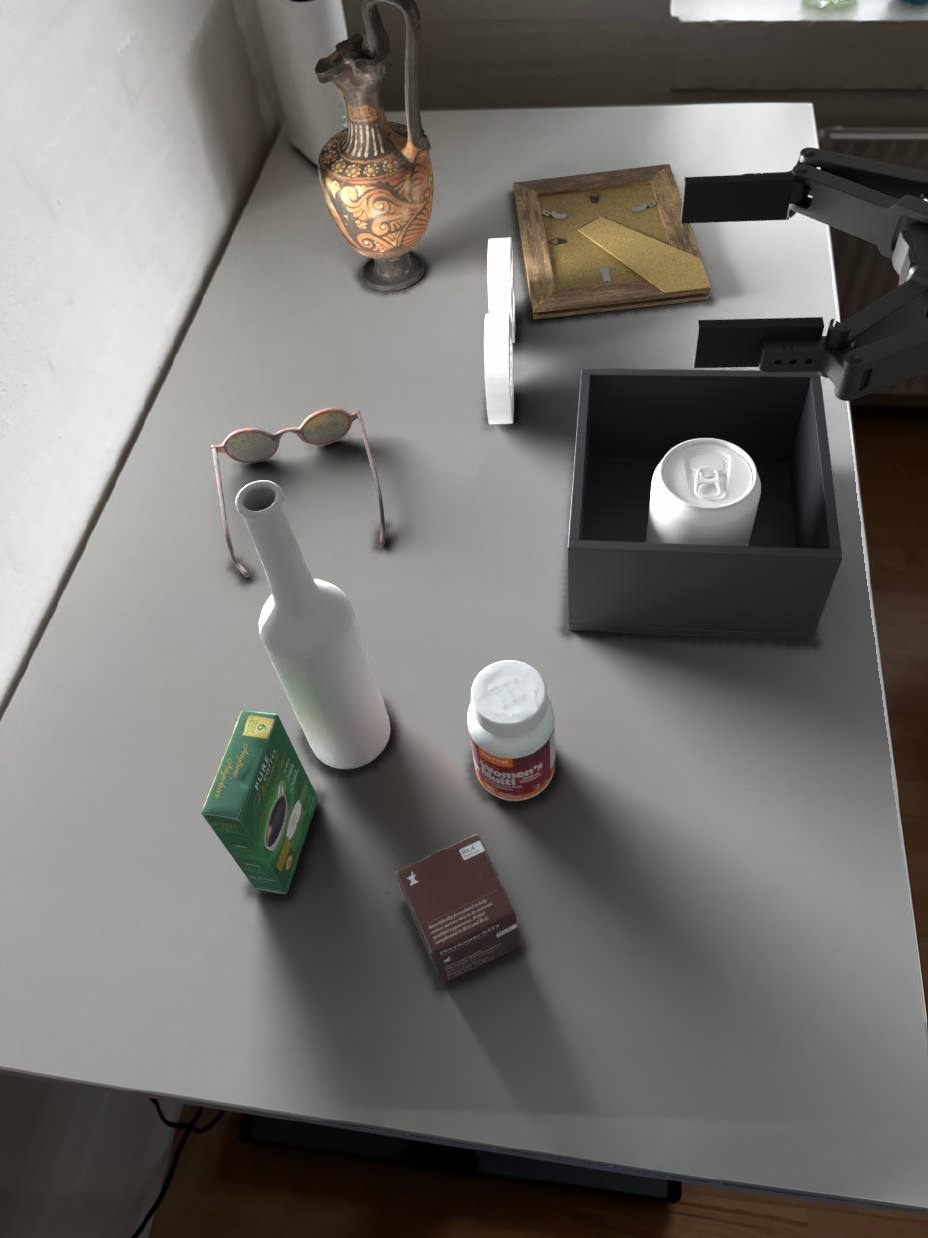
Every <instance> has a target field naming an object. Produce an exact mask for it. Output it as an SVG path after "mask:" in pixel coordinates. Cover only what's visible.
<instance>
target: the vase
mask: <svg viewBox="0 0 928 1238" xmlns="http://www.w3.org/2000/svg"><path fill="white" fill-rule="evenodd" d="M377 3H386V4H388V5H393V6H395V7H397V8H398V9H399V11H401V12H402V14H403V17H404V21H405V29H406V30H405V52H404V108H405V109H404V111H405V122H406V124H403V123H401V122H397V121H396V122H395V121H389V120H388V119H387V116H386V114H385V109H384V106H383V101H382V96H381V87H382V81H383V77H384V75H386V71H387V59H388V57H389V55H390V54H391V41H390V35H389V34H388V31H387V30H386V29H385V27H384V24H383V21H382V17H381V14H380V11H379V8H378V5H377ZM360 12H361V17H362V21H363V25H364V27H365V32H364V34H363V35H362V34H360V33H354V34H352V35H350V36H349V37H348V38H347V39H343V40H341V41H339V42H338V43H337V44H335V46H334V48H335V50H334V51H333V52H331V53H330V54H329V55H328V56H326V57H321V58H319V59H318V61H317V63H316V65H315V67H314V72H315V74H316V79H317V80H318V82H319V83H320V84H327V83H330V82H331V83H333V84H334V86H336V87H337V89H338V90H339V91H340V93H341V95H342V98H343V100H344V102H345V109H346V116H347V127H346V128H344V129H343V130H341V131H339V132H337V133H336V134H334V135H333V136H331V138H329V139H328V140H327V141H326V143H324V145H323V147H322V148H321V150H320V152H319V154H318V160H317V172H318V179H319V184H320V190H321V192H322V195H323V199H324V201H325V204H326V205H325V206H326V207H327V210H328V212H329V215H330V217H331V219H332V220H333V222H334V224H335V226H336V228H337V230H338V231H339V233H340V234H341V236H342V237H343V238H344V240H345V241H346V243H347V244H348V245H349V246H350V248H352V250H354V251H356V252H357V253H359V254H360V255H362V256H364V257H367V258H370V259H368V261H367V262H366V263H365V264H364V265H363V268H362V275H361V276H362V280H363V282H364V284H365V285H366V286H367V287H368V288H370V289H373V290H375V291H380V292H393V291H399V290H404V289H406V288H409V287H411V286H413V285H415V284H416V283H418V282H419V281H420V280H421V279H422V278H423V276H424V273H425V270H426V269H425V264H424V261H423V260H422V259H421V258H420V257H419V256H418V255H417V254H416V252H413V251H411V250H412V249H414V248H415V247H416V246H417V245H418V244H419V243H420V242H421V239H422V238H423V237H424V235H425V233H426V231H427V229H428V225H429V224H430V219H431V215H432V210H433V203H434V190H435V189H434V188H435V187H434V185H435V183H434V181H435V180H434V169H433V162H432V157H431V153H430V151H431V150H432V146H431V143H430V140H429V136H428V135H427V134H426V133H425V130H424V127H423V123H422V116H421V105H420V101H421V100H420V53H421V52H420V50H421V15H420V10H419V8H418V4H417V2H416V0H362V3H361V8H360Z"/></svg>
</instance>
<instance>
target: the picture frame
mask: <svg viewBox="0 0 928 1238" xmlns="http://www.w3.org/2000/svg"><path fill="white" fill-rule="evenodd" d="M512 187H513V199H514V205H515V210H516V217H517V223H518V229H519V235H520V241H521V248H522V254H523V261H524V267H525V273H526V280H527V285H528V291H529V299H530V304H531V310H532V316H533V320H543V319H551V318H558V317H560V318H561V317H569V316H576V315H577V316H578V315H586V314H594V313H603V312H613V311H622V310H629V309H637V308H638V309H639V308H646V307H655V306H665V305H672V304H673V305H674V304H681V303H690V302H699V301H707V300H710V293H711V289H712V286H711V284H710V280H709V277H708V274H707V271H706V270H705V266H704V264H703V261H702V257H701V255H700V252H699V249H698V246H697V243H696V242H697V241H696V240H695V236H694V233H693V230H692V228H691V227H692V226H691V223H682V224H681V209H682V198H681V195H680V194H681V193H680V190H679V188H678V185H677V182H676V179H675V176H674V172H673V170H672V167H671V164H670V163H665V164H656V165H648V166H640V167H632V168H631V167H630V168H623V169H615V170H606V171H600V172H591V173H582V174H573V175H566V176H565V175H564V176H558V177H549V178H548V177H547V178H542V179H533V180H524V181H516V182H512Z"/></svg>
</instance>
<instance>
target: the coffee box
mask: <svg viewBox="0 0 928 1238" xmlns="http://www.w3.org/2000/svg"><path fill="white" fill-rule="evenodd" d="M318 801H319V797H318V795H317V792H316V790H315V787H314V785H313V784H312V782H311V780H310V779H309V776H308V774H307V772H306V770H305V768H304V766H303V764H302V761H301V760H300V757H299V756H298V753H297V751H296V749H295V747H294V745H293V743H292V741H291V739H290V736H289V735H288V732H287V731H286V728H285V726H284V724H283V722H282V720H281V718H280V716H279V714H278V713H274V712H265V711H254V710H252V711H251V710H244V709H242V710H241V711H240V714H239V716H238V719H237V721H236V723H235V726H234V729H233V731H232V734H231V737H230V740H229V742H228V744H227V746H226V749H225V752H224V754H223V756H222V759H221V761H220V765H219V767H218V769H217V772H216V774H215V777H214V779H213V781H212V784H211V787H210V789H209V791H208V794H207V797H206V799H205V802H204V805H203V807H202V809H201V812H200V814H201V816H202V817H203V818H204V819H205V821H206V822H207V824H208V825H209V827H210V828H211V830H212V831H213V832H214V833H215V835H216V836H217V838H218V839H219V841H220V842H221V843H222V845H223V846H224V848H225V849H226V850H227V852H228V853H229V854H230V856H231V857H232V858H233V860H234V862H235V863H236V865H237V866H238V867H239V869H240V870H241V872H242V873H243V875H244V876H245V877H246V879H247V880H248V881H249V882H250V884H251V885H252V887H253V888H254V889H255V890H260V891H264V892H268V893H269V892H270V893H274V894H280V895H284V894H285V895H287V894H288V893H289V889H290V886H291V883H292V881H293V878H294V875H295V873H296V870H297V866H298V861H299V859H300V856H301V853H302V850H303V846H304V844H305V840H306V837H307V834H308V831H309V828H310V825H311V822H312V819H313V817H314V813H315V810H316V807H317V804H318Z"/></svg>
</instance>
